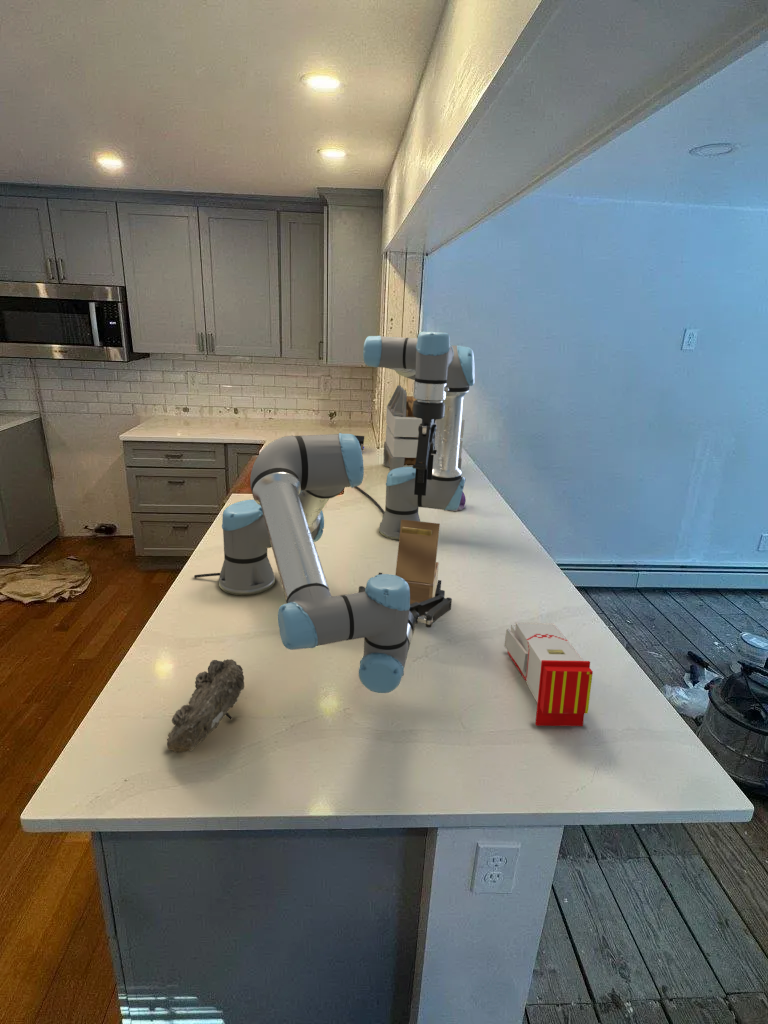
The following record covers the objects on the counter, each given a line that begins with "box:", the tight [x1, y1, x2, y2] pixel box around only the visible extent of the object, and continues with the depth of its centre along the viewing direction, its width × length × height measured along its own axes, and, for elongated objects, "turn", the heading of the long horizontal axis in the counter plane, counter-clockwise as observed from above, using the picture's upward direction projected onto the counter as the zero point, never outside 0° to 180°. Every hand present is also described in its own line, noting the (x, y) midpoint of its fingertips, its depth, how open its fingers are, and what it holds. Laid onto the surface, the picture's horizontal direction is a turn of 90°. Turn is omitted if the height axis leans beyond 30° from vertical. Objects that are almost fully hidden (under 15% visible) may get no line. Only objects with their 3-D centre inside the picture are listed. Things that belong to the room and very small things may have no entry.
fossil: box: [166, 658, 245, 754], centre depth 106 cm, size 22×10×15 cm
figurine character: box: [353, 434, 365, 451], centre depth 310 cm, size 7×8×15 cm
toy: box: [503, 622, 594, 727], centre depth 121 cm, size 12×13×30 cm
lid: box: [395, 520, 441, 584], centre depth 139 cm, size 15×10×9 cm
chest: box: [405, 561, 440, 616], centre depth 151 cm, size 14×10×10 cm
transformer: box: [383, 384, 465, 472], centre depth 268 cm, size 34×33×41 cm
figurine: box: [450, 491, 467, 512], centre depth 226 cm, size 9×10×15 cm
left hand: (409, 581), depth 129 cm, fingers open, 13 cm apart
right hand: (423, 486), depth 141 cm, fingers open, 13 cm apart
